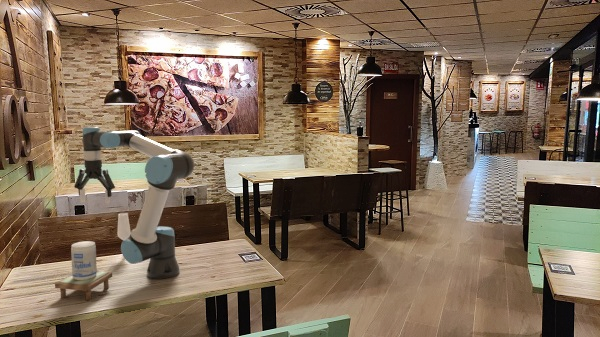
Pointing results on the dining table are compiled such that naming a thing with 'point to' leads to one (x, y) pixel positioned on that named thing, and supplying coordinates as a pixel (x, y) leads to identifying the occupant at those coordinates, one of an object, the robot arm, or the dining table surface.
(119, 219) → the champagne flute
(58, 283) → the small wooden table
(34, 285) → the dining table surface
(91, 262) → the supplement tub
